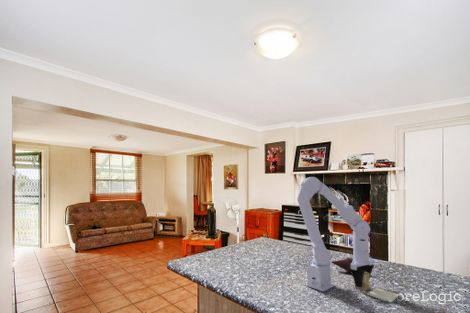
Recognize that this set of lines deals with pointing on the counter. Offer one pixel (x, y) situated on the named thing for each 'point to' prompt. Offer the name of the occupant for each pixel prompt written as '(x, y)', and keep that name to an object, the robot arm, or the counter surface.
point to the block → (365, 282)
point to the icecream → (344, 264)
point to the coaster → (383, 295)
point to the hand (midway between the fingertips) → (362, 284)
